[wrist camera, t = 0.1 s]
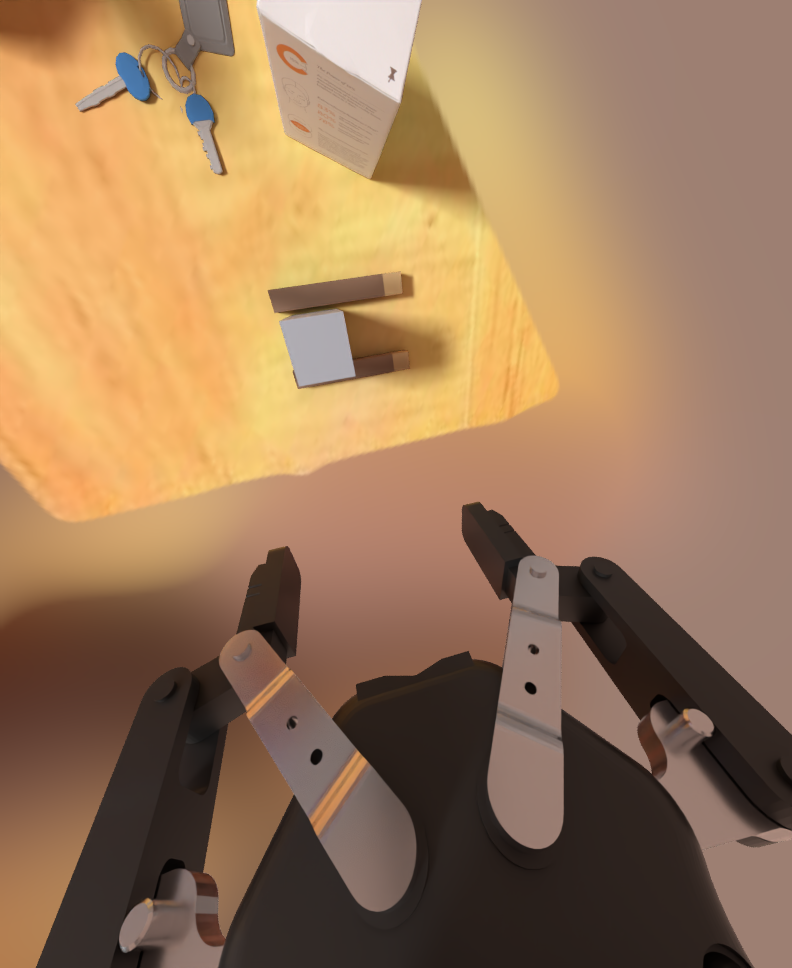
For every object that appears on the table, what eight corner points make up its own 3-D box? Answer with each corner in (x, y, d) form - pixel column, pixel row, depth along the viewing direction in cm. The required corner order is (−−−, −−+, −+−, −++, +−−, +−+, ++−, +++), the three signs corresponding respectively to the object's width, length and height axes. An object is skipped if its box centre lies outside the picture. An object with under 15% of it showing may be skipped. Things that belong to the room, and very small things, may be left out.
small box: (390, 87, 25) (441, -71, 15) (370, 181, 28) (402, 108, 18) (293, 23, 23) (269, -229, 12) (282, 135, 26) (254, 12, 15)
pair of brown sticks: (269, 290, 31) (267, 290, 30) (397, 272, 33) (400, 271, 31) (298, 385, 36) (298, 389, 35) (406, 366, 38) (409, 368, 37)
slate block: (291, 315, 32) (279, 321, 23) (336, 308, 33) (343, 311, 23) (304, 362, 35) (298, 386, 25) (345, 355, 36) (355, 376, 26)
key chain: (200, -50, 21) (196, -62, 20) (289, 104, 25) (288, 99, 24) (77, 107, 23) (70, 101, 22) (179, 223, 27) (175, 221, 27)
